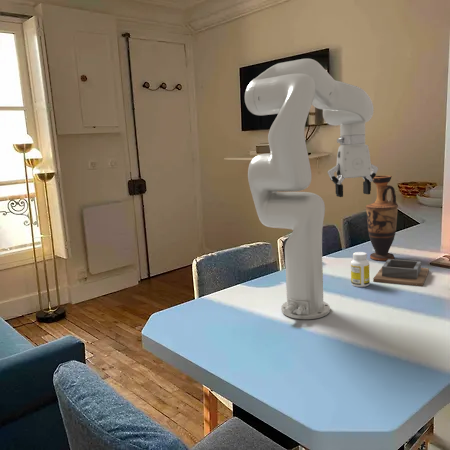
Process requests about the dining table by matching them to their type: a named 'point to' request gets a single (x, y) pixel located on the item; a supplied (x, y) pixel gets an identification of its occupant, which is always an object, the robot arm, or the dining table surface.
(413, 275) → the holder
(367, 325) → the dining table surface
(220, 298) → the dining table surface
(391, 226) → the vase
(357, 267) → the supplement bottle
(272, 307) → the dining table surface
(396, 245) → the dining table surface
